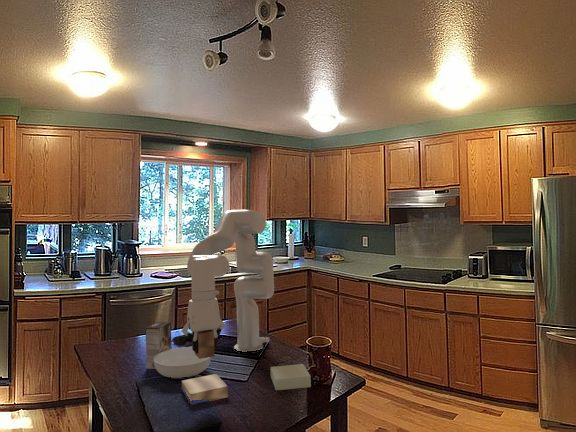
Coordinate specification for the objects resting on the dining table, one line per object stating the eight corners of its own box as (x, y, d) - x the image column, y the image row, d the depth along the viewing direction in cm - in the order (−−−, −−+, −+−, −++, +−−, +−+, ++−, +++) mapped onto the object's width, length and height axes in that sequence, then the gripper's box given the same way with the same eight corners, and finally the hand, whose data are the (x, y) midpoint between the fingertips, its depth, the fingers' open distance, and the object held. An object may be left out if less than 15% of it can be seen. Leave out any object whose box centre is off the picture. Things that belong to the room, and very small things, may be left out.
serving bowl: (182, 389, 141) (182, 369, 141) (141, 378, 152) (141, 359, 152) (223, 369, 159) (222, 351, 159) (183, 360, 170) (183, 343, 170)
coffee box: (157, 360, 170) (157, 321, 170) (172, 361, 169) (171, 321, 169) (145, 368, 161) (144, 327, 161) (161, 369, 160) (160, 328, 160)
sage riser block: (303, 374, 153) (302, 363, 153) (310, 388, 141) (310, 376, 141) (270, 378, 151) (270, 367, 151) (275, 391, 139) (275, 379, 139)
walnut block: (209, 352, 140) (209, 328, 140) (214, 356, 136) (214, 331, 136) (195, 354, 138) (194, 330, 138) (199, 359, 133) (198, 333, 133)
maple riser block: (216, 385, 145) (216, 373, 145) (227, 398, 134) (227, 386, 134) (181, 392, 140) (181, 380, 140) (190, 407, 129) (190, 394, 129)
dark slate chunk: (225, 338, 201) (224, 328, 201) (183, 349, 186) (183, 338, 186) (208, 332, 212) (207, 322, 212) (167, 341, 197) (167, 331, 197)
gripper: (224, 291, 144) (225, 343, 144) (174, 296, 136) (175, 352, 136) (232, 294, 137) (233, 349, 137) (180, 300, 129) (181, 358, 129)
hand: (204, 350), depth 137 cm, fingers closed on walnut block, 5 cm apart
